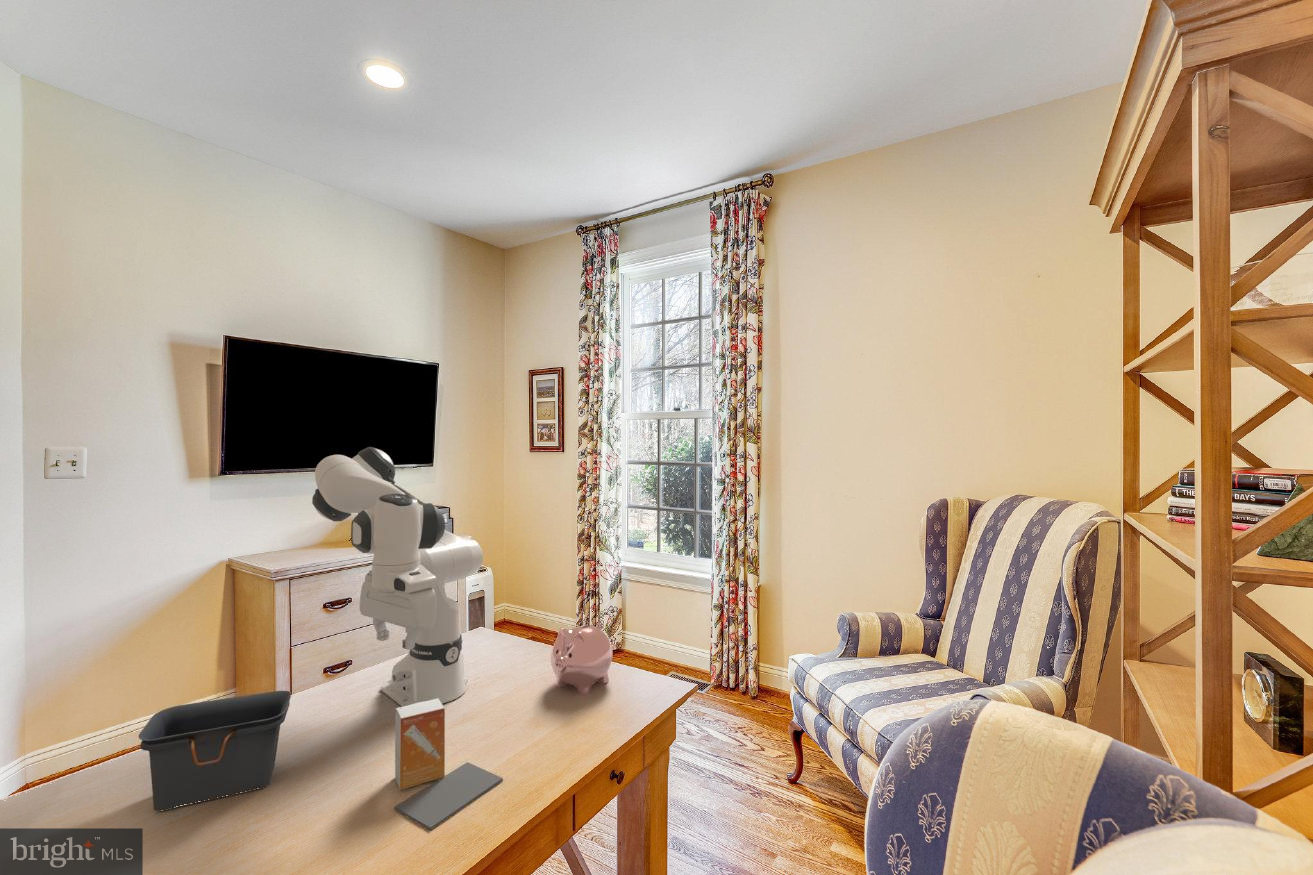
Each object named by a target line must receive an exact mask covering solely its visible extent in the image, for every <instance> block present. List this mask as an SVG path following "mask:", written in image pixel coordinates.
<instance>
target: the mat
mask: <svg viewBox="0 0 1313 875" xmlns="http://www.w3.org/2000/svg"><path fill="white" fill-rule="evenodd" d="M503 781H504V779H503V777H501V776H499V775H497V774H494V773H493V772H490V771H488V770H486V769H484V768H482V767H480V766H477V765H475V764H473V763H471V762H468V761H467V762H465V763H464V764H462V765H460V766H459V767H457V768H456V769H453V770H452V771H450V772H449V773H447V774H445V776H444V777H443V778H438V779H436V781H434V782H432V783H430V784H429V785H427V786H426V787H424V788H422V789H421V790H420V791H417V792H416V793H414V794H413V795H411V796H409V797H408V798H406V799H404V800H403V801H401V802H399V803H398V804H396V805H395V806H393V810H395V811H396V812H398V813H399V814H401V815H403V816H405V817H406V818H408V819H409V820H412V821H413V822H416V823H417V824H419V825H420V826H422V827H423V828H425V829H427V830H429V831H432V830H434V829H435V828H437V827H438V826H439V825H440V824H443V823H444V822H445V821H447V820H448V819H450V818H451V817H452V816H454V815H456V814H457V813H459V811H461V810H463V809H464V808H466V807H467V806H469V805H470V804H471V803H473V802H474V801H475V800H477V799H479V798H480V797H481V796H483V795H484V794H486V793H487V792H489V791H490V790H491V789H493V788H495V787H496V786H497V785H499V784H500V783H502V782H503Z"/></svg>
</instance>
